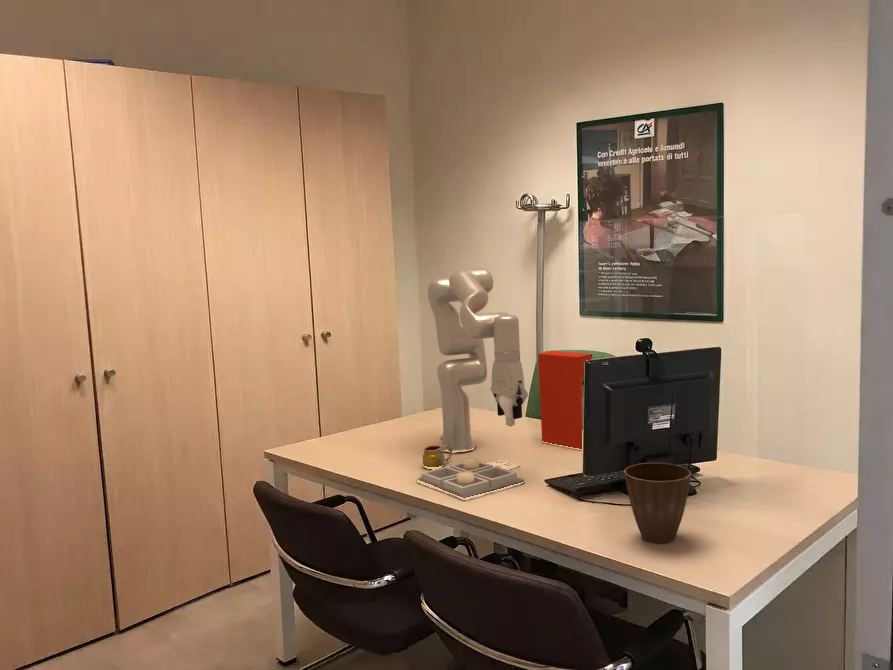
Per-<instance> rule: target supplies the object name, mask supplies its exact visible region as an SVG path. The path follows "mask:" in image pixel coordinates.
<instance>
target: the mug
mask: <svg viewBox="0 0 893 670" xmlns="http://www.w3.org/2000/svg"><path fill="white" fill-rule="evenodd" d="M445 448H449V451H450V453H448V456H447V457H446V458H445V452H443V450H444V449H445ZM421 455H422V456H421V457H422V466H427V467H439V466H442V465H445V464H444V462H445V461H447V462H448V460H449V461H450V459H451V458H452V455H453V453H452V449H451V447H450V446H447V445H446V446H444V447H443V448H441V445H428V446H426V447H425V448H423V453H422V454H421Z"/></svg>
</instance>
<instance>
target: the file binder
mask: <svg viewBox="0 0 893 670" xmlns="http://www.w3.org/2000/svg"><path fill="white" fill-rule="evenodd" d="M537 359H538V361H537V362H538V379H539V380H538V382H539V384H538V385H539V402H540V404H539V407H540V424H541V425H540V426H541V427H540V428H541V442H542V441H544V442H548V443H552V444H557V445H563V446H568V447H573V448H579V449H582V430H583V385H584V362H585V361H586V360H591V359H592V360H593V354H592V353H584V352H571V351H561V350H560V351H557V350H549V351H545V352H540V353H538V354H537Z"/></svg>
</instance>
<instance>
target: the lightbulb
mask: <svg viewBox="0 0 893 670" xmlns="http://www.w3.org/2000/svg"><path fill="white" fill-rule="evenodd" d="M516 395H517V394H516ZM516 399H517V400H518V397H516ZM499 405H500V406H501V408H502V409H503V411H504V414H505V415H504V416H505V425H506V426H508V427H513V426H515V424H516V421H515V420H516V419H513V409H512V407H513V406H514V403H513V400H512V397H508V396H503V395H500V396H499Z"/></svg>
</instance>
